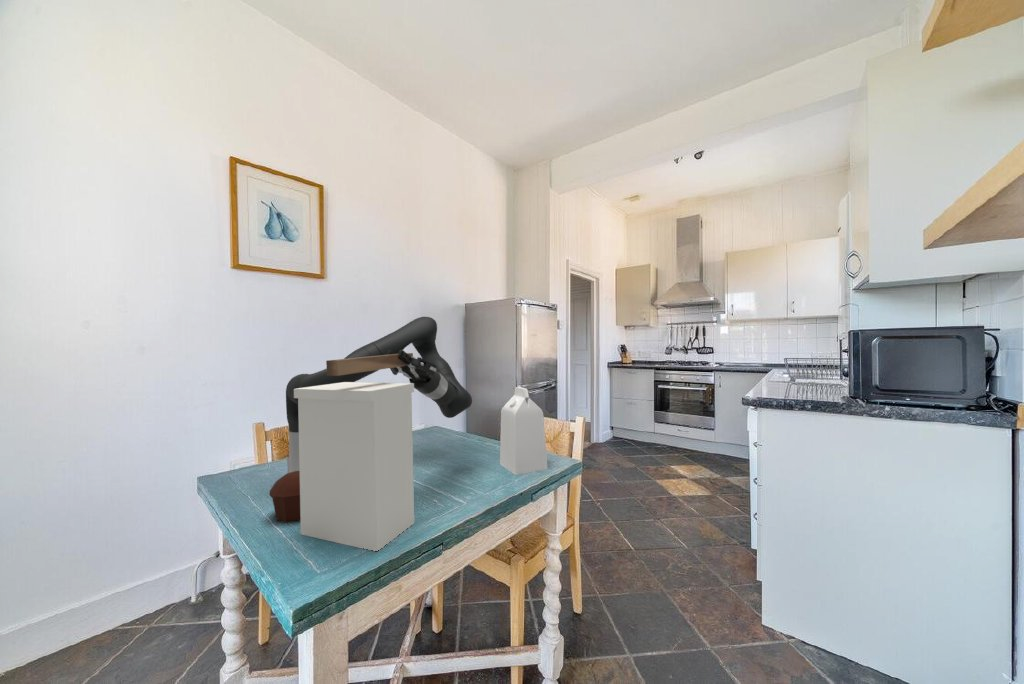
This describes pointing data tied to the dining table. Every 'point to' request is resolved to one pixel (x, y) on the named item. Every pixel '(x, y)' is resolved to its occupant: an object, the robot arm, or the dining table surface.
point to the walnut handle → (363, 364)
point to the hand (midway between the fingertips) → (394, 353)
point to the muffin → (287, 497)
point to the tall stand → (356, 462)
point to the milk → (522, 435)
